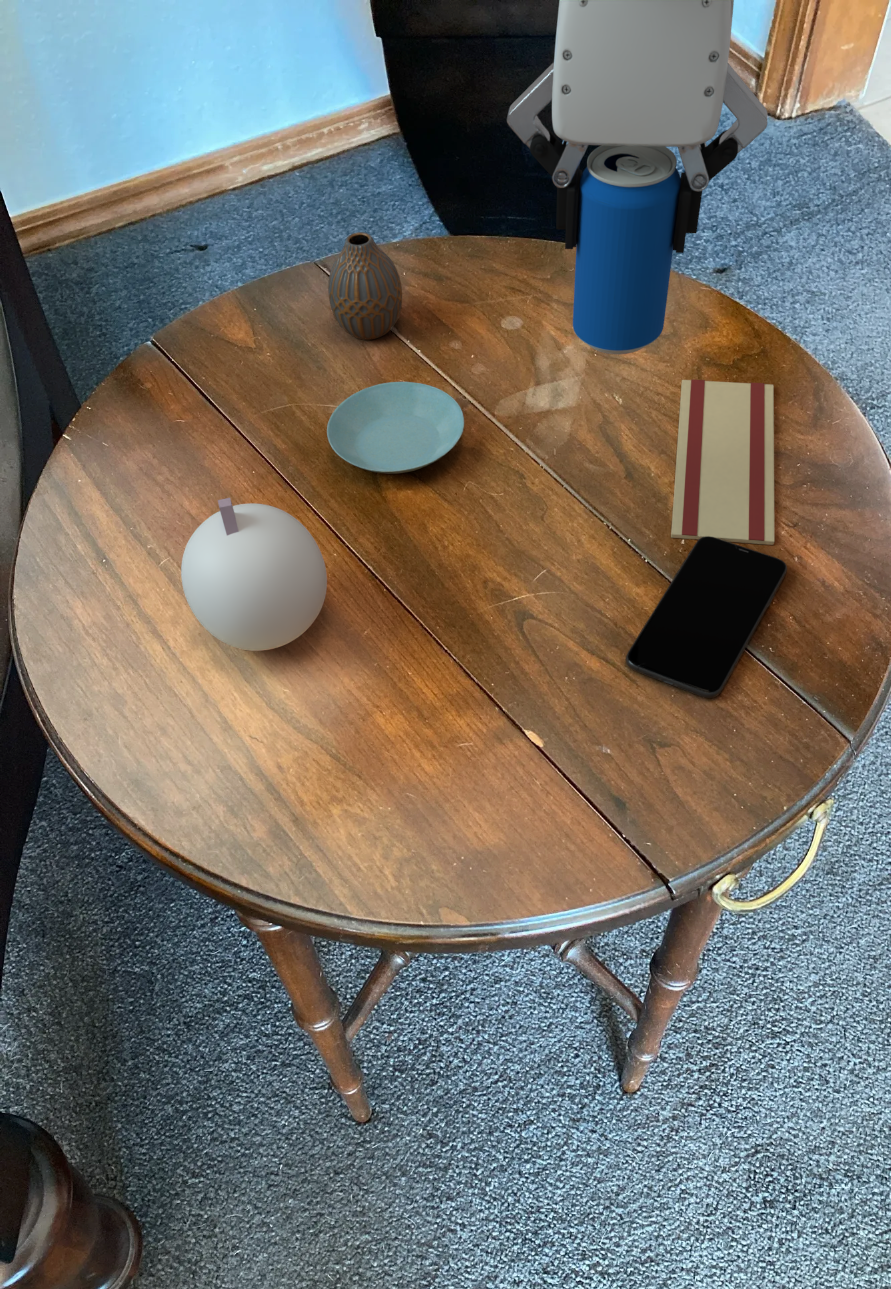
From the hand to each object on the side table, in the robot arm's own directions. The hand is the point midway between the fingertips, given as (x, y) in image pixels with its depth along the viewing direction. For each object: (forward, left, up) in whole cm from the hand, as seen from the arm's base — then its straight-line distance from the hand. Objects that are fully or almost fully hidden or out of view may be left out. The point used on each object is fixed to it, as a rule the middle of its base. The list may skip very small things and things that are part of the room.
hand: (625, 237), depth 72 cm
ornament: (+24, +18, -21) cm, 37 cm away
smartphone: (-9, +14, -21) cm, 27 cm away
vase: (+24, -21, -21) cm, 38 cm away
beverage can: (0, 0, -7) cm, 7 cm away
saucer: (+18, -4, -21) cm, 28 cm away
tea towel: (-10, -5, -21) cm, 24 cm away
